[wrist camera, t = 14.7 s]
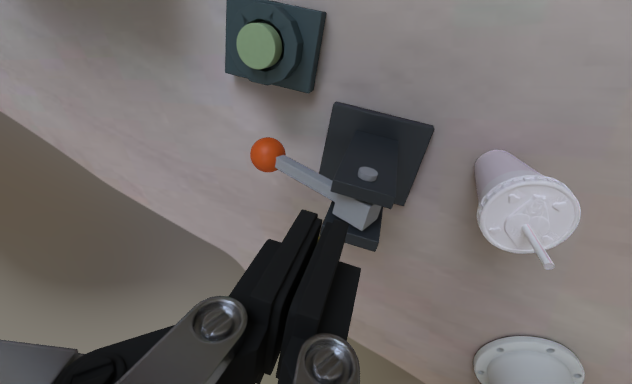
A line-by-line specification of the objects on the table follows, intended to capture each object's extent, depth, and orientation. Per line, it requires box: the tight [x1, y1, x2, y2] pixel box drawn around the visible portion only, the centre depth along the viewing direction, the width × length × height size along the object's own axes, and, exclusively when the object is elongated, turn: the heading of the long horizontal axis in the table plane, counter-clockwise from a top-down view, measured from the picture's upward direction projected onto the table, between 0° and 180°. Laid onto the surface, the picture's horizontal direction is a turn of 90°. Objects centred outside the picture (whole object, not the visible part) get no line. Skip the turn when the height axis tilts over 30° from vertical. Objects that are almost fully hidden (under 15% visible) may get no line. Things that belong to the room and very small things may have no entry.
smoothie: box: [474, 150, 581, 270], centre depth 24 cm, size 6×6×14 cm
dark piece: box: [225, 0, 326, 93], centre depth 28 cm, size 9×7×4 cm
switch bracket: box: [319, 102, 434, 252], centre depth 27 cm, size 10×9×13 cm
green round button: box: [236, 23, 282, 70], centre depth 27 cm, size 4×4×2 cm
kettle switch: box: [250, 137, 381, 231], centre depth 26 cm, size 13×3×3 cm, turn 81°
